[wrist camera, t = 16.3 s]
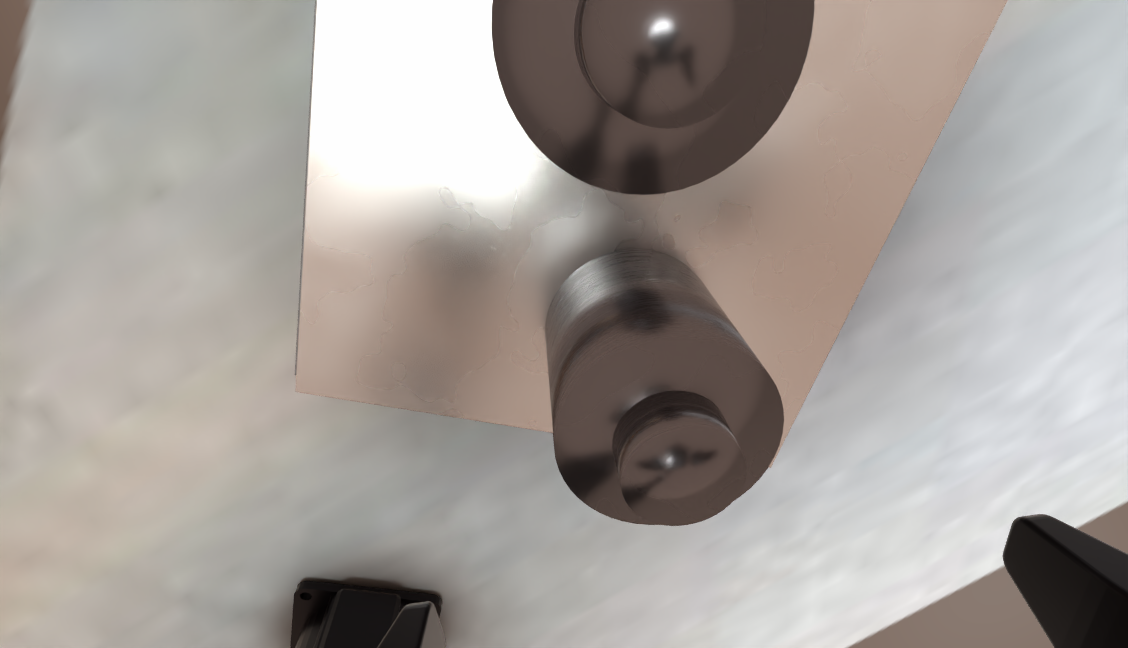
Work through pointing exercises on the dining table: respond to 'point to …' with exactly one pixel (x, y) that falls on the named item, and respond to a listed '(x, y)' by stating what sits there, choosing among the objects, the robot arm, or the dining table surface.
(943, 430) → the dining table surface
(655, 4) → the weight
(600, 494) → the weight
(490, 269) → the scale pan
